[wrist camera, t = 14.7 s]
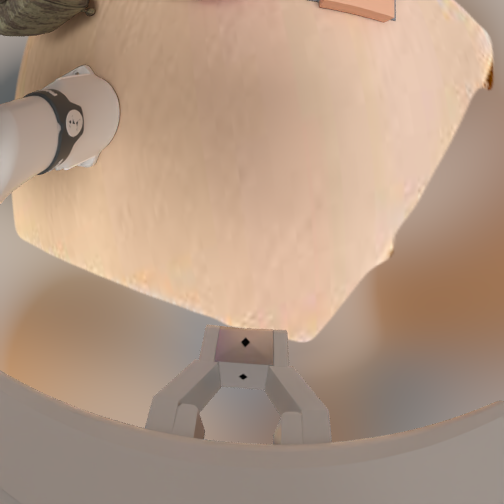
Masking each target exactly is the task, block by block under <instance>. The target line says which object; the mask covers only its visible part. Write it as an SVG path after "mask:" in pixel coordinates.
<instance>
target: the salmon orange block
mask: <svg viewBox="0 0 504 504" xmlns="http://www.w3.org/2000/svg"><path fill="white" fill-rule="evenodd" d="M319 7H322V8H328V9H333V10H338V11H343V12H347V13H352V14H356V15H360V16H364V17H367V18H371V19H374V20H378V21H381V22H386V21H388V20H390V19H393V18H394V0H320V1H319Z"/></svg>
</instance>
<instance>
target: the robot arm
mask: <svg viewBox="0 0 504 504" xmlns="http://www.w3.org/2000/svg"><path fill="white" fill-rule="evenodd" d="M78 73H79V75H77V74H78ZM119 115H120V110H119V102H118V98H117V96H116V93H115V91H114V90H113V88H112V87H111V85H110V84H109V83H108V82H106V81H105V80H103V79H102V78H100V77H98V76H96V75H95V74H94V72H93V71H92V69H91V68H90V67H89V66H88V65H82V66H79V67H78V68H76V69H74V70H72V71H70V72H69V73H67V74H65V75H64V76H62V77H60V78H57V79H56V80H55V81H54V82H52V83H50V84H49V85H47V86H46V87H44V88H43V89H41V90H38V91H36V92H32V93H30V94H28V95H26V96H24V97H23V98H21V99H17V100H13V101H10V102H6V103H3V104H0V204H1V203H2V202H3V200H4V199H5V198H6V197H7V196H8V195H9V194H10V193H12V192H13V191H14V190H15V189H17V188H18V187H19V186H21V185H22V184H24V183H25V182H27V181H28V180H29V179H31V178H32V177H34V176H36V175H41V174H44V173H46V172H49V171H51V170H53V169H54V168H55V170H61V169H64V170H68V169H70V168H72V167H75V166H82V167H91V166H93V165H94V164H95V163H96V161H97V159H98V156H99V154H100V152H101V151H102V150H103V149H104V148H105V147H106V146H107V145H108V144H109V143H110V141H111V140H112V138H113V137H114V135H115V132H116V130H117V127H118V123H119ZM221 387H233V388H247V389H260V390H265V392H266V394H267V396H268V397H269V399H270V401H271V402H272V404H273V405H274V407H275V409H276V410H277V412H278V413H279V415H280V417H281V418H280V421H279V423H278V426H277V428H276V431H275V433H274V435H273V444H272V445H271V444H247V443H233V442H222V441H213V440H205V439H204V435H205V429H204V426H203V423H202V420H201V417H200V412H201V411H202V409H203V408H204V407H205V406H206V405H207V404H208V402H209V401H210V400H211V399H212V398H213V397H214V395H215V394H216V393H217V392H218V391H219V389H220V388H221ZM0 504H504V401H496V402H494V403H491V404H489V405H487V406H484V407H482V408H479V409H477V410H474V411H472V412H469V413H466V414H464V415H460V416H458V417H455V418H452V419H449V420H445V421H442V422H439V423H435V424H432V425H428V426H425V427H421V428H417V429H413V430H408V431H404V432H399V433H395V434H390V435H384V436H378V437H372V438H366V439H359V440H351V441H342V442H332V441H331V429H330V420H329V410H328V409H327V408H326V406H325V405H324V404H323V403H322V402H321V400H320V399H319V398H318V397H317V396H316V395H315V393H314V392H313V391H312V389H311V388H310V387H309V386H308V385H307V383H306V382H305V381H304V380H303V378H302V377H301V376H300V375H299V373H298V372H297V371H296V370H295V368H294V367H293V366H289V356H288V335H287V331H286V330H273V329H251V328H247V329H244V328H234V327H224V326H214V325H207V327H206V328H205V333H204V337H203V342H202V347H201V352H200V356H199V360H194V361H193V362H192V363H191V364H189V365H188V366H187V367H186V368H185V369H184V370H183V371H182V372H181V373H180V374H178V375H177V376H176V377H175V378H174V379H173V380H172V381H171V382H169V383H168V384H167V385H166V386H165V387H164V388H163V389H162V390H160V391H159V392H158V393H157V394H156V395H155V396H154V397H153V399H152V403H151V407H150V411H149V414H148V418H147V422H146V426H145V428H142V427H138V426H134V425H130V424H126V423H123V422H119V421H116V420H112V419H109V418H106V417H103V416H100V415H97V414H94V413H91V412H88V411H85V410H83V409H80V408H77V407H75V406H72V405H69V404H67V403H65V402H62V401H60V400H57V399H55V398H53V397H51V396H48V395H46V394H44V393H42V392H40V391H38V390H36V389H34V388H32V387H29V386H28V385H26V384H24V383H22V382H20V381H18V380H16V379H14V378H13V377H11V376H9V375H7V374H5V373H4V372H2V371H0Z"/></svg>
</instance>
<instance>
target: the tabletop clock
mask: <svg viewBox="0 0 504 504" xmlns="http://www.w3.org/2000/svg"><path fill="white" fill-rule="evenodd" d="M88 3H89V0H0V35H4V36H34V35H40V34H45V33H49V32H52V31H54V30H55V29H57V28H58V27H59V26H61V25H62V24H63V23H65V22H66V21H67V20H69V19H70V18H72V17H73V16H74V15H76V14H77V13H79V12H86V15H87V16H91V15H93V14H94V12H95V10H94V8H89V9H88V10H87V9H85V8H87V7H88Z"/></svg>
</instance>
